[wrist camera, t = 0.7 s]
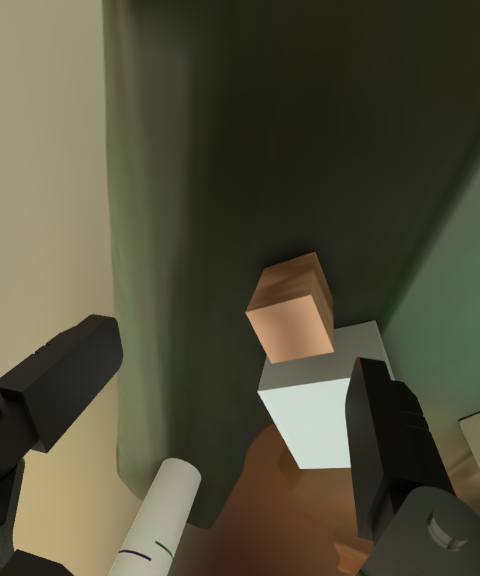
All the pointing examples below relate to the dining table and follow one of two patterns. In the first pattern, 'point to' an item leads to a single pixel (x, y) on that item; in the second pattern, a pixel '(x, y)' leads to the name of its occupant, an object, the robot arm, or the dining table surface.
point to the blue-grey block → (319, 396)
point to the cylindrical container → (159, 522)
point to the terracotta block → (293, 310)
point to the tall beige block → (472, 434)
